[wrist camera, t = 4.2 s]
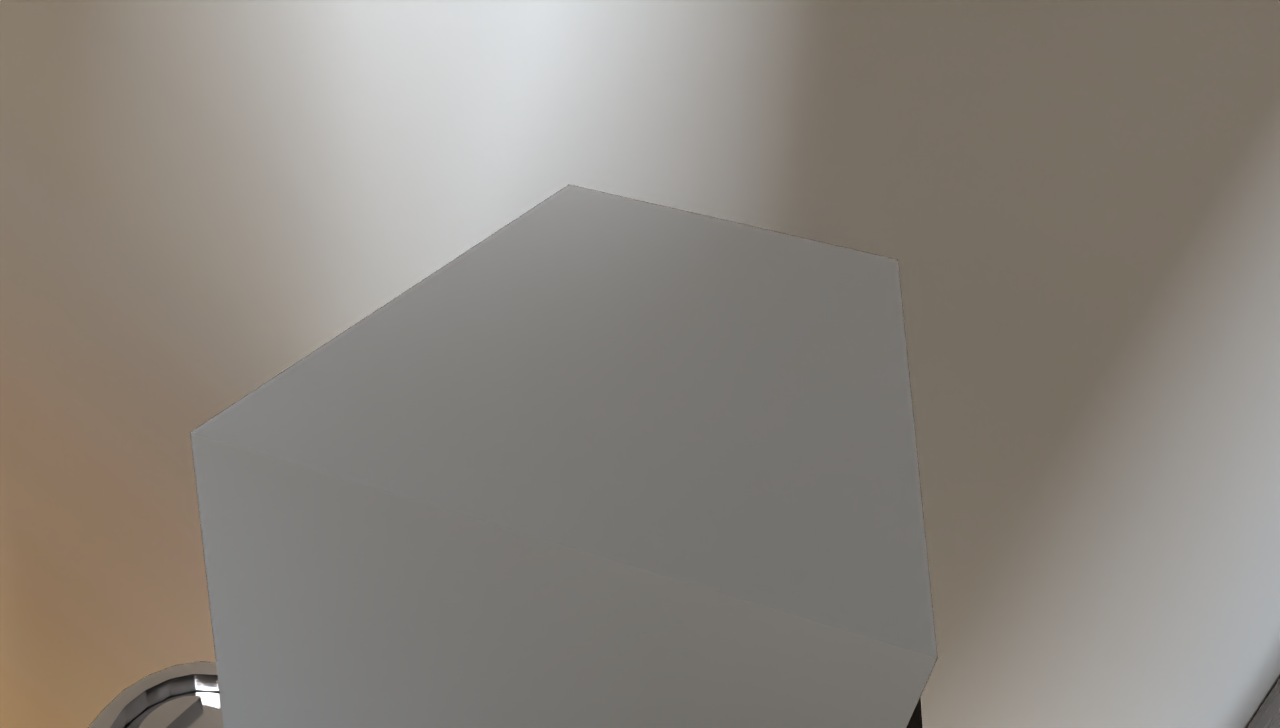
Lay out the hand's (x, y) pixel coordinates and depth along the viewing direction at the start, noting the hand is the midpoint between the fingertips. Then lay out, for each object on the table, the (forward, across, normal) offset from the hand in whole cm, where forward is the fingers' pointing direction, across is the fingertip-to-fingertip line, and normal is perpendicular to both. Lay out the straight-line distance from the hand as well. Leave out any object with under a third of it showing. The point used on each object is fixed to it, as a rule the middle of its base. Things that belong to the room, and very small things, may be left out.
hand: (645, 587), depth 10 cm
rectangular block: (0, 0, 0) cm, 0 cm away
